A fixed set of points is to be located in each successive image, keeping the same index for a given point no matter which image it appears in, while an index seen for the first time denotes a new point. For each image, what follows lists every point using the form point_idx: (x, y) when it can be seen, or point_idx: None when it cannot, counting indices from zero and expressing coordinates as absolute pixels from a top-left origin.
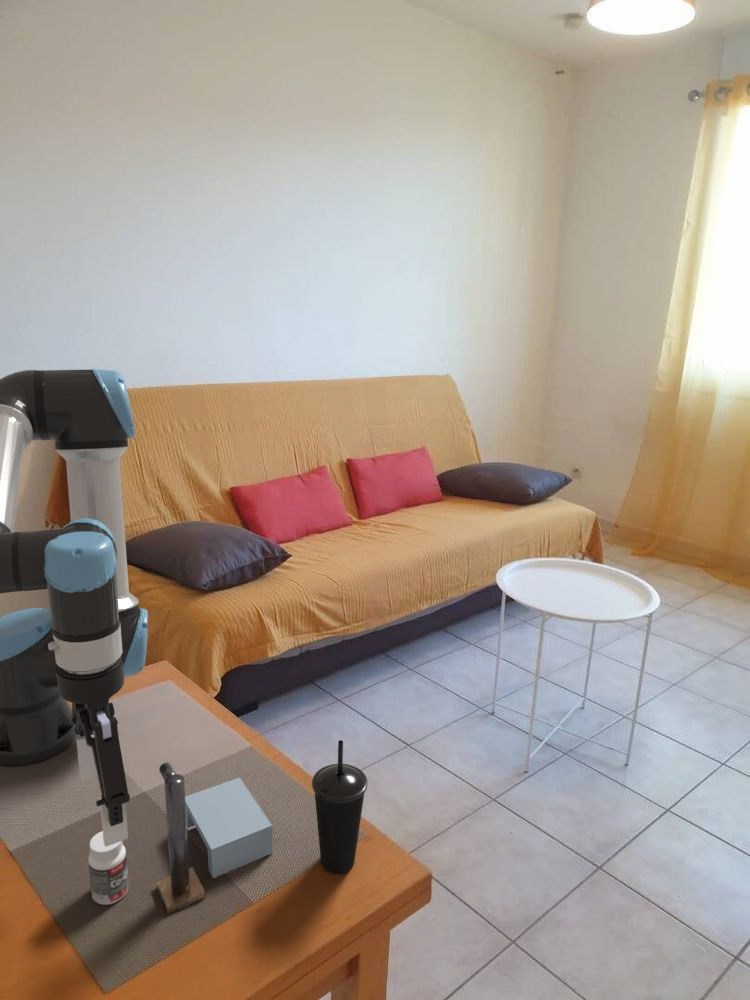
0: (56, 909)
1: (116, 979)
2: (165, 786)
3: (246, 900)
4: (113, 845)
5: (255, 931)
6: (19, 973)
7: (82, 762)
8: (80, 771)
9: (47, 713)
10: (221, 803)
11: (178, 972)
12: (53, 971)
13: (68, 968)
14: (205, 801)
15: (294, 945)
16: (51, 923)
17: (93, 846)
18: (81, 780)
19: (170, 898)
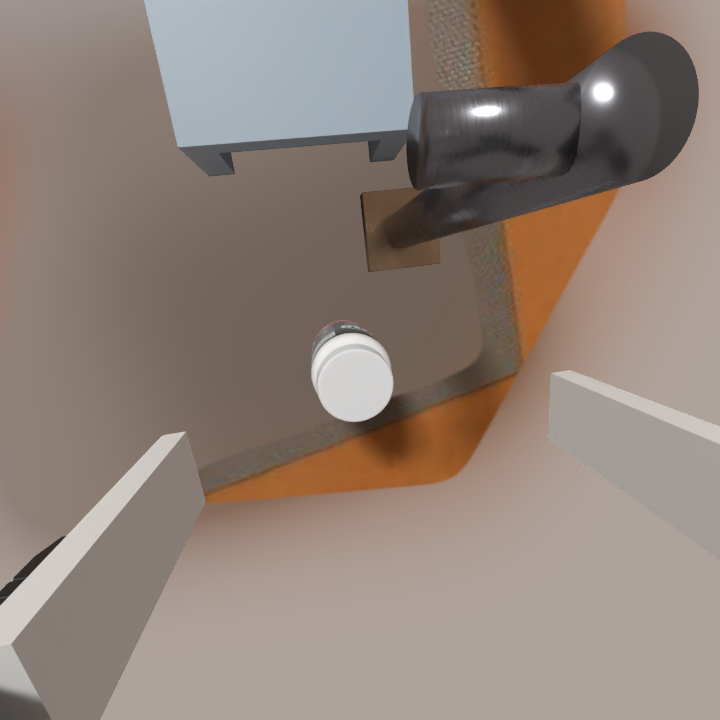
0: (346, 431)
1: (509, 356)
2: (619, 186)
3: None
4: (381, 370)
5: None
6: (437, 472)
7: (165, 564)
8: (186, 537)
9: None
10: (245, 32)
11: (544, 269)
12: (455, 433)
13: (460, 415)
14: (219, 82)
15: None
16: (371, 437)
17: (365, 414)
18: (202, 505)
19: (422, 254)
